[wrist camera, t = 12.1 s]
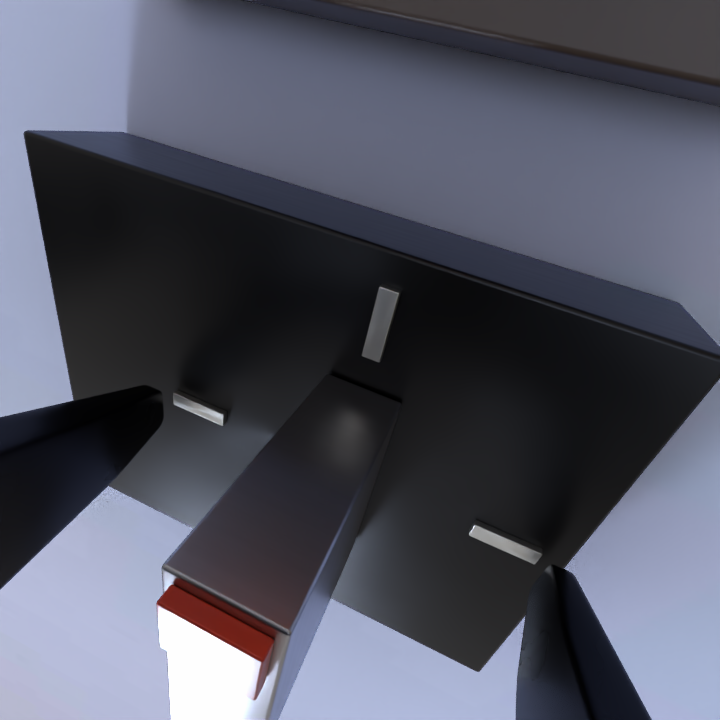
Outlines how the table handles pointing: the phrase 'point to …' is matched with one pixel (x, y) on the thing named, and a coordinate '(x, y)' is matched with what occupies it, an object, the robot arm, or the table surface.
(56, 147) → the hob panel
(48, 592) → the table surface
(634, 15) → the brown button base
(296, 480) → the burner knob
